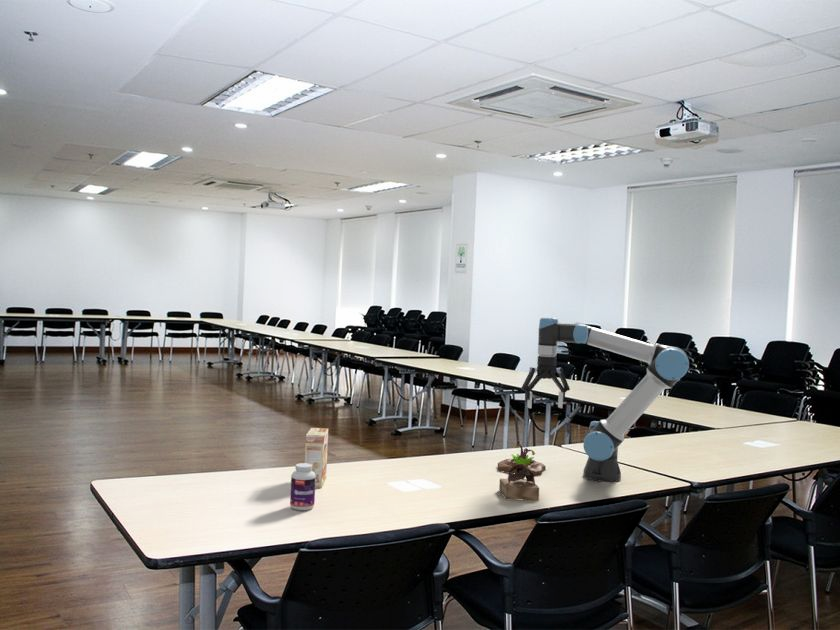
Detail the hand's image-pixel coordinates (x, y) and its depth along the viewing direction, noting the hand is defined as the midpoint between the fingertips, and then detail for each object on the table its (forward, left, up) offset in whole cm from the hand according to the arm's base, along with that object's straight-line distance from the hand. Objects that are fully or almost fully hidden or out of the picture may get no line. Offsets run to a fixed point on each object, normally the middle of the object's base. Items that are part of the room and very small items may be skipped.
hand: (544, 407), depth 292 cm
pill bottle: (+99, +32, -29) cm, 108 cm away
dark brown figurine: (+18, +24, -24) cm, 39 cm away
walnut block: (+19, +24, -29) cm, 42 cm away
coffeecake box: (+92, +1, -29) cm, 96 cm away
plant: (+4, -14, -29) cm, 32 cm away
